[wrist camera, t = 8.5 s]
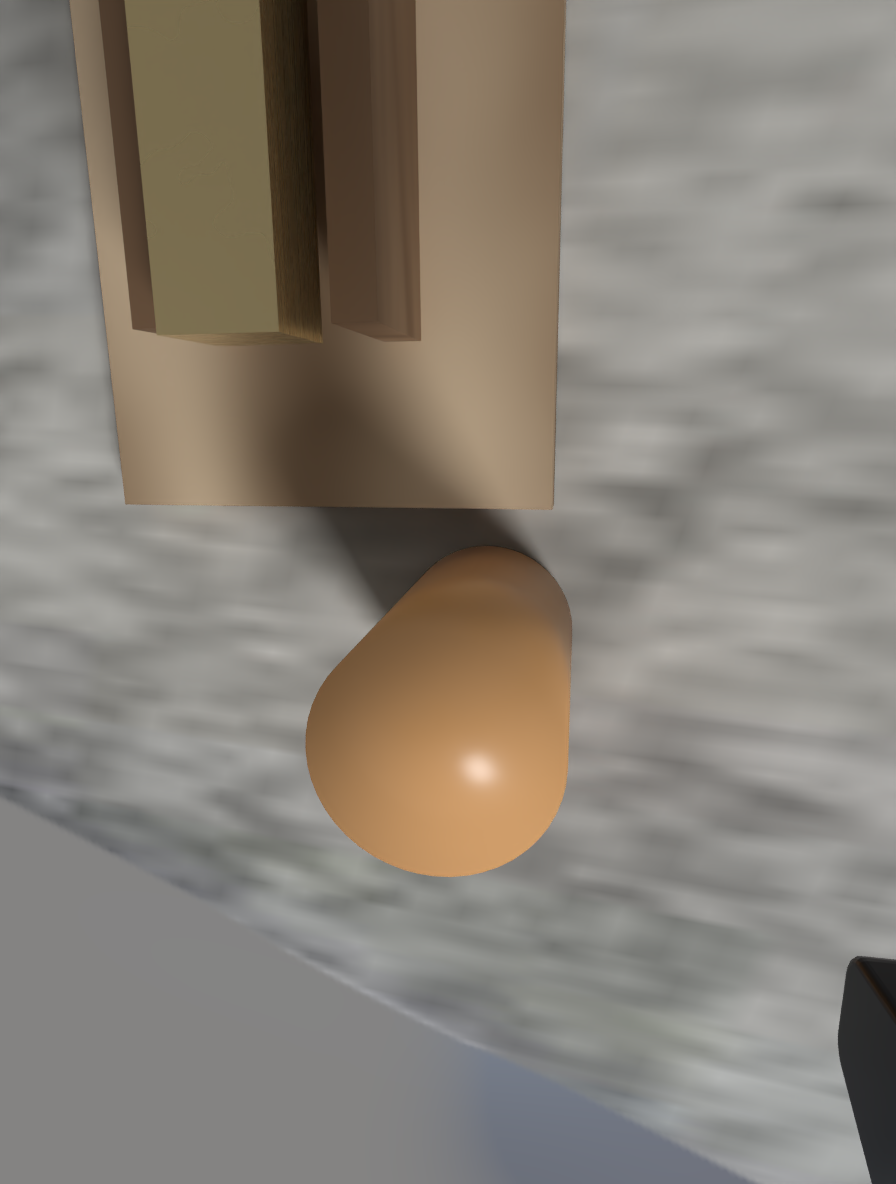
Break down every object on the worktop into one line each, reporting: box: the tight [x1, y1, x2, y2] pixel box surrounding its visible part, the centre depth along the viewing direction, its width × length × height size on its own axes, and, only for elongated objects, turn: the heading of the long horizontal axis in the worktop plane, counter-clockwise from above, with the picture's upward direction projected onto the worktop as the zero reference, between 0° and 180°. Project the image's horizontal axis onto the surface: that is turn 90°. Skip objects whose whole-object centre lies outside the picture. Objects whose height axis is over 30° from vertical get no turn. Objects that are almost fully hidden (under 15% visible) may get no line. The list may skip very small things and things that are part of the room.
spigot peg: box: [306, 546, 572, 877], centre depth 14 cm, size 4×4×7 cm
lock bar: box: [124, 0, 323, 346], centre depth 11 cm, size 2×9×2 cm, turn 1°
